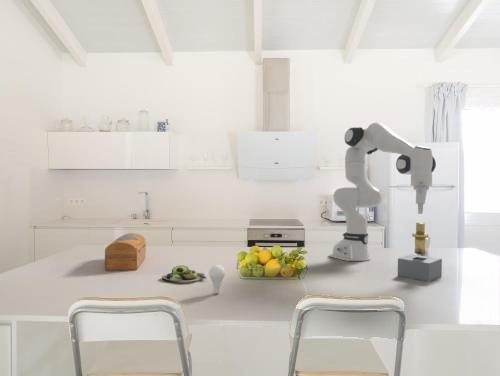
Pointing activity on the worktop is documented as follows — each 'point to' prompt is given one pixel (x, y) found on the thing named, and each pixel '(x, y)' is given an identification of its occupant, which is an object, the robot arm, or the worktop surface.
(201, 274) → the salad plate
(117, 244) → the wooden box
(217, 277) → the lightbulb
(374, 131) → the robot arm
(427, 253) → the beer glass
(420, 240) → the brass knob plunger
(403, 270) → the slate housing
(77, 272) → the worktop surface
